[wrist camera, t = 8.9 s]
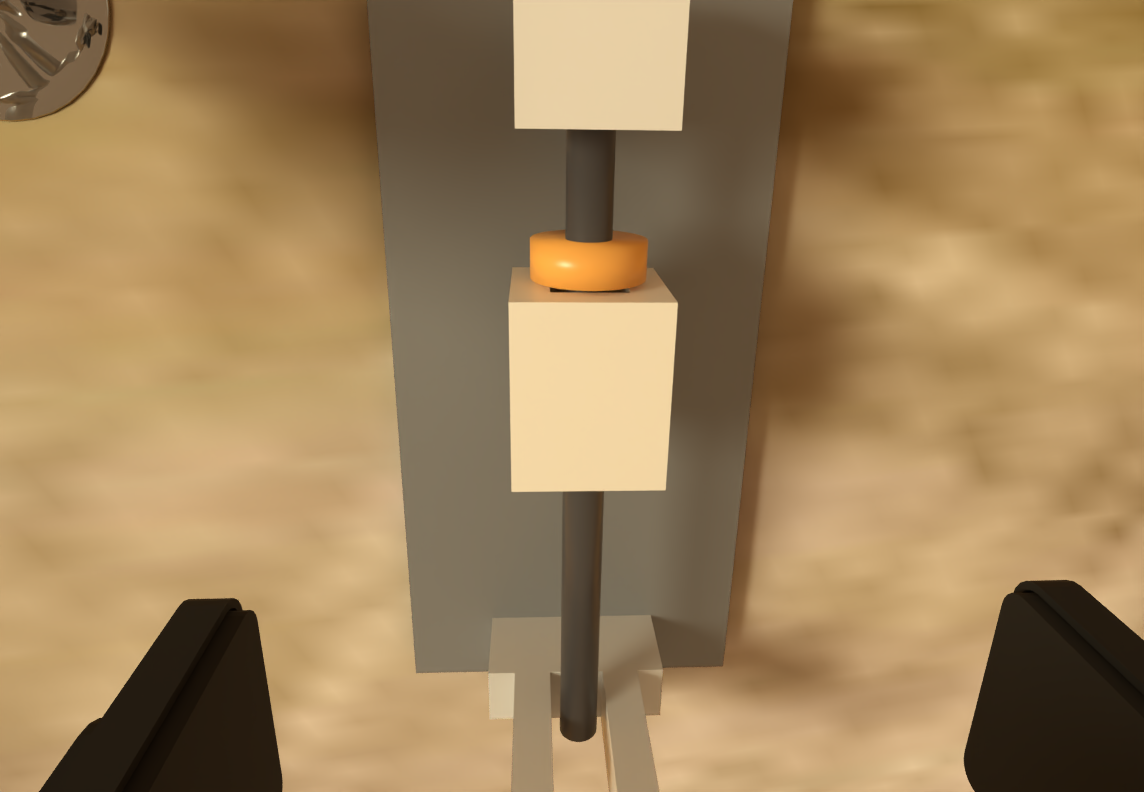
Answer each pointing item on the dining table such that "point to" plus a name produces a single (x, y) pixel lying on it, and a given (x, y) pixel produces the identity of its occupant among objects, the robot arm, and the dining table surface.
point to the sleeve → (590, 386)
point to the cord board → (577, 264)
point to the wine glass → (49, 53)
